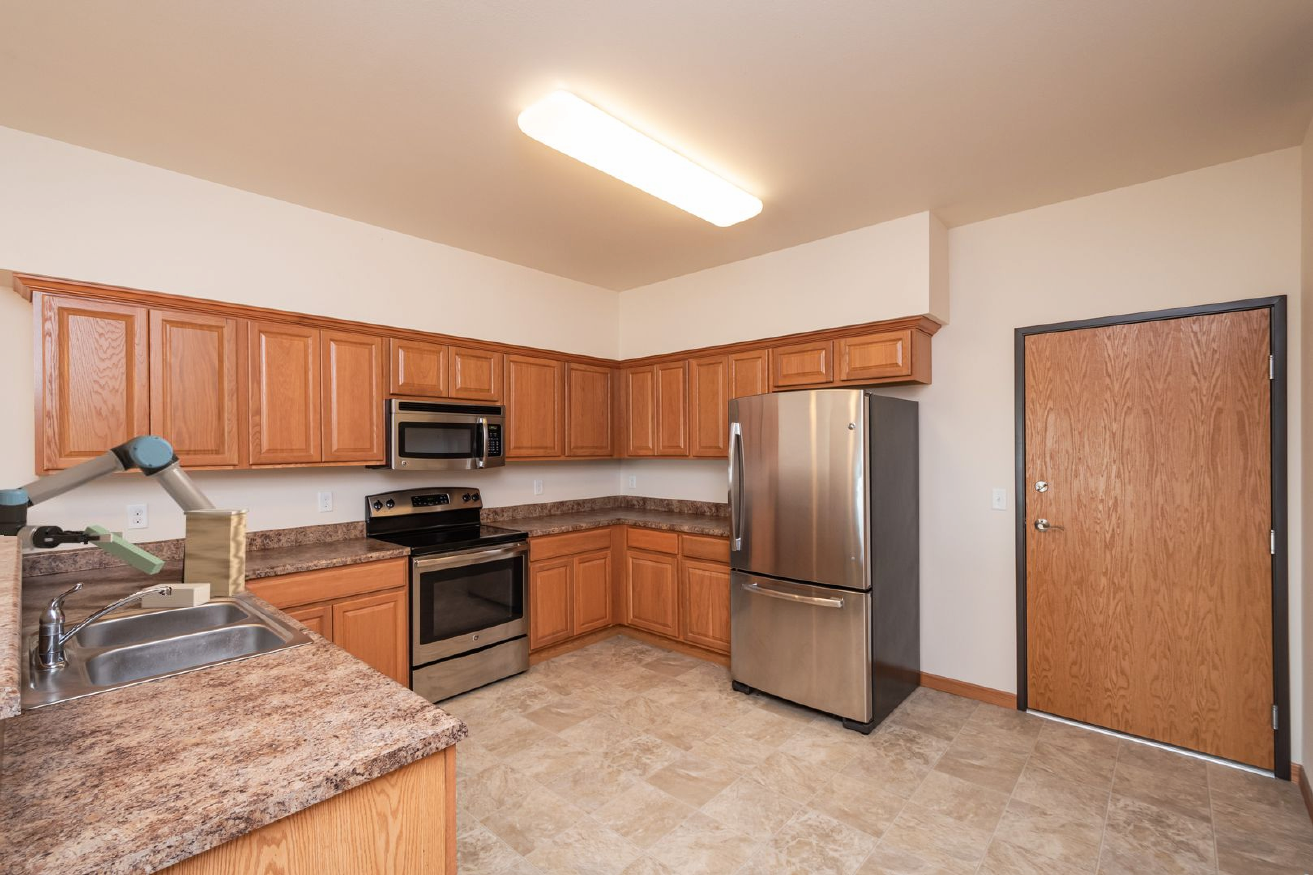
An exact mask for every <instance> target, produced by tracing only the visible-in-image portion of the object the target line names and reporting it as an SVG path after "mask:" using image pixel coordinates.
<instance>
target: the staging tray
mask: <svg viewBox="0 0 1313 875" xmlns="http://www.w3.org/2000/svg"><path fill="white" fill-rule="evenodd" d="M165 586H168V587H171V588H172V594H171V595H167V596H164V595H162V594H159V593H156V594H153V595H146V596H144V597H142V596H141V608H142V609H144V608H146V609H147V608H148V609H151V608H152V609H153V608H155V609H157V608H196V607H197V606H200V605H202V604H205V603H208V602H210V601H211V600H210V599H211V597H210V583H197V584H182V583H158V584H156V585H153V586H149V587H145V588H142V589H141V592H142V591H146V590H150V589H155V588H160V587H165Z"/></svg>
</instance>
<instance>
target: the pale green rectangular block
mask: <svg viewBox="0 0 1313 875" xmlns="http://www.w3.org/2000/svg"><path fill="white" fill-rule="evenodd" d="M83 531H84V533H83V534H88V536H90V534H113V533H111V532H112V531H110V530H107V529H106V528H104V527H102V526H101V525H98V524H97V525H90V526H89V525H88V526H87V527H86V528H85V530H83ZM89 543H91V544H93V545H94V546H96V547H98V548H100V549H101V550H104V551H105V552H107V553H109V554H110V555H113V556H114V557H116V558H118V559H120V560H122V561H124V562H125V563H127V564H129V565H131V566H132V567H134V568H136V569H138V570H140V571H142V572H143V573H145V574H147V575H154V574H159V573H160V571H161V569H162V568H163V566H164V565H165V563H166V561H164V560H162V559H160V558H159V557H157V556H155V555H153V554H151V553H150V552H148V551H145V550H144V549H142V548H140V547H138V545H135V544H133V543H131V542H129V541H127V540H126V539H125V538H124V539H122V538H120V537H119V536H117V535H115V534H113V542H89Z"/></svg>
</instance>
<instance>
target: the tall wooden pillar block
mask: <svg viewBox="0 0 1313 875" xmlns="http://www.w3.org/2000/svg"><path fill="white" fill-rule="evenodd" d="M247 513H249V509H247V508H245V509H244V508H241V509H239V508H234V509H233V508H230V509H226V508H225V509H224V508H222V509H219V508H216V509H201V510H194V511H187V512H184V511H183V515H184V516H185V538H184V541H185V542H184V543H185V544H184V545H185V572H184V584H197V583H210V598H215V597H214V596H230V597H232V595H233V596H235V595H237V594H240V593H242V592H245V590H246V589H245V588H246V587H245V584H246V582H245V581H246V580H245V579H246V578H245V577H246V550H247V549H246V547H247V546H246V545H247V544H246V542H247V540H246V538H247Z"/></svg>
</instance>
